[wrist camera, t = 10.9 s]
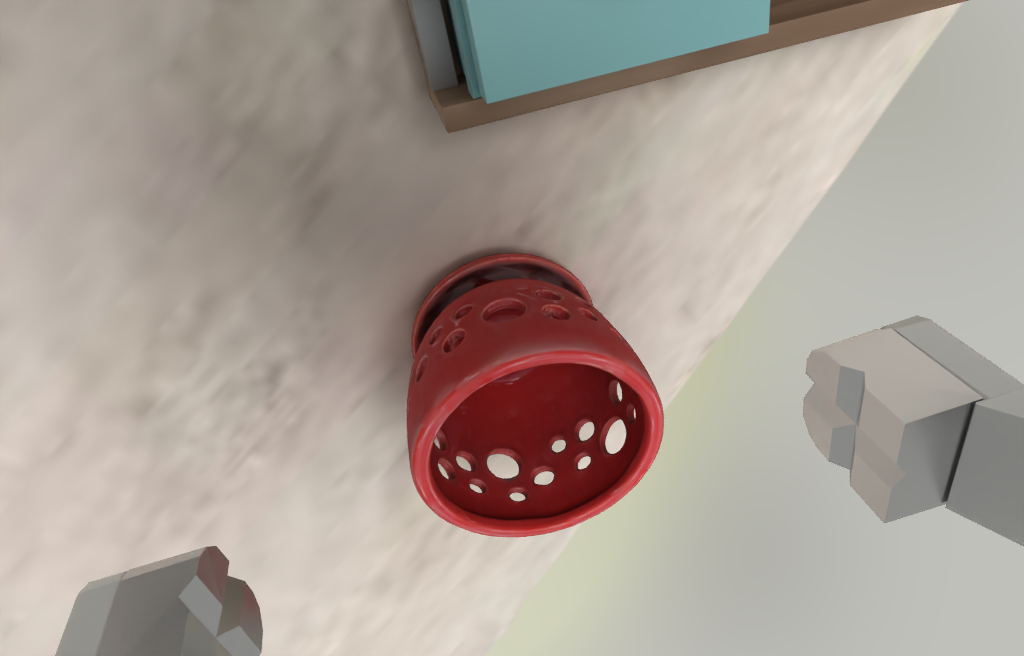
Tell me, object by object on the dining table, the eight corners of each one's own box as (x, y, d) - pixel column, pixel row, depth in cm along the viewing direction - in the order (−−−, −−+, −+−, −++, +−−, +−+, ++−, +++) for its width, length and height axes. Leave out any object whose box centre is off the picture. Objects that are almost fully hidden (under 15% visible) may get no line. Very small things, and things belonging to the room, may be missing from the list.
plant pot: (399, 230, 37) (422, 349, 27) (612, 240, 40) (701, 348, 31) (387, 410, 44) (403, 557, 34) (571, 405, 47) (633, 537, 37)
